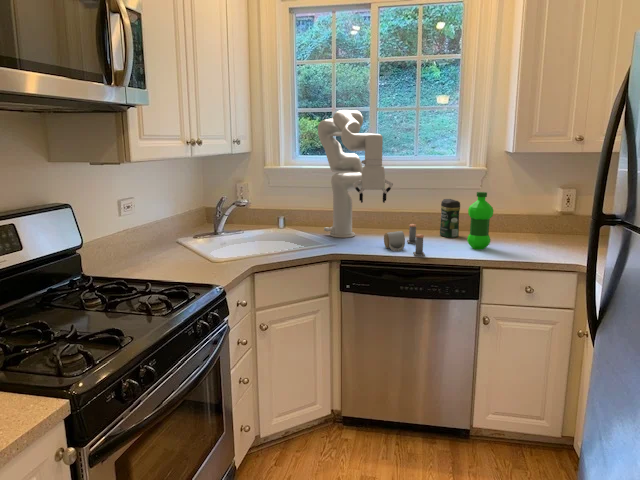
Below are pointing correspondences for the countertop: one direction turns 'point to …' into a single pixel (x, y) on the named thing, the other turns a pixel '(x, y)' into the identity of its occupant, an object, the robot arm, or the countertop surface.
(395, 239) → the ceramic mug
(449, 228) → the coffee jar
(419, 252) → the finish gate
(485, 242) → the plastic bottle
